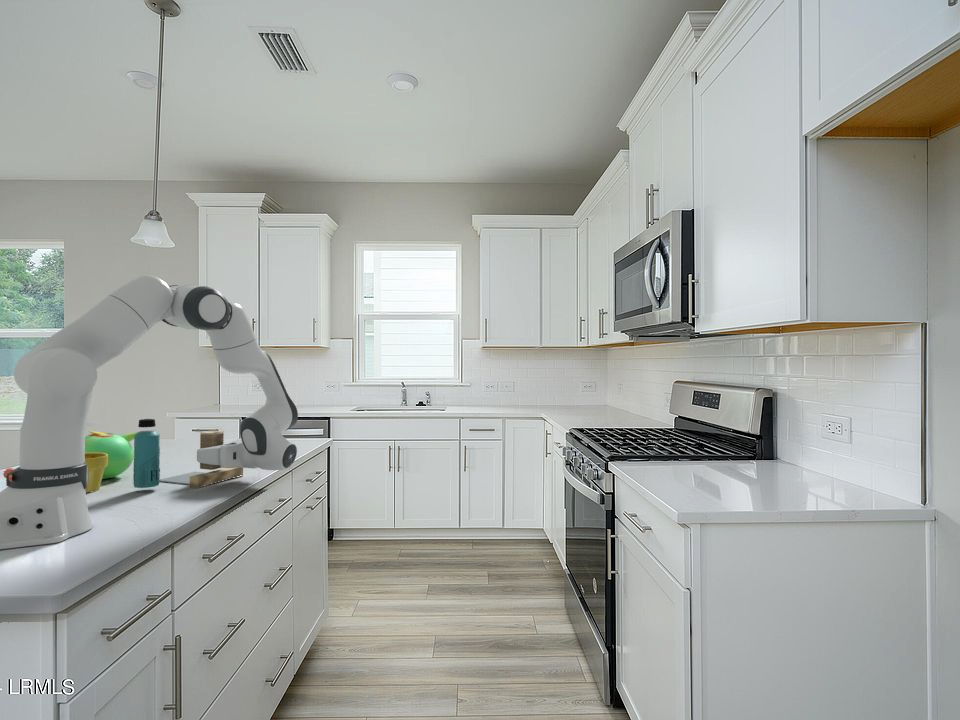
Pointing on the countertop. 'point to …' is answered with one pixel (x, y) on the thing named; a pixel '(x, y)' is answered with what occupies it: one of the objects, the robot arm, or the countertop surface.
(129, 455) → the green rounded body
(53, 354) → the robot arm
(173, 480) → the grey mat
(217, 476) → the oak rail
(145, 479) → the beverage bottle
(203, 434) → the walnut block
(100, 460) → the plant pot
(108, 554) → the countertop surface
